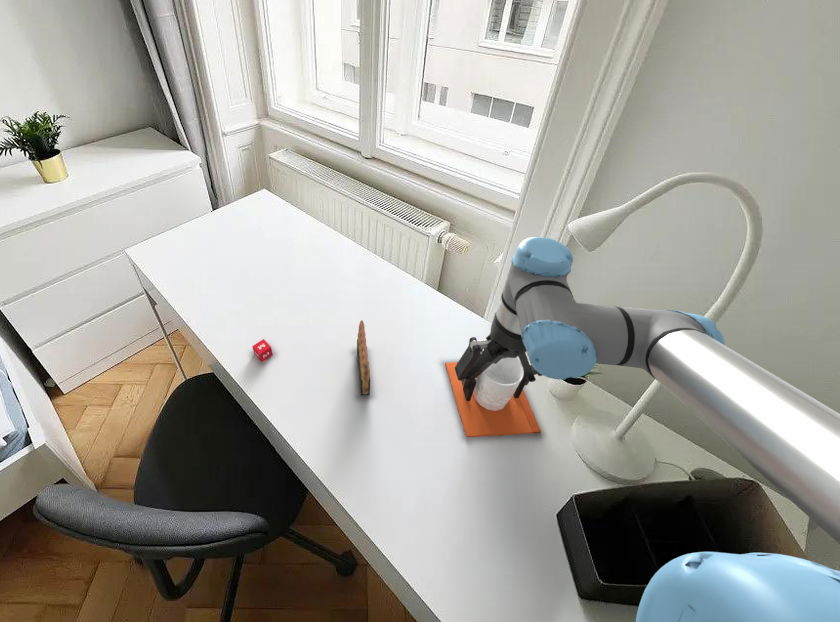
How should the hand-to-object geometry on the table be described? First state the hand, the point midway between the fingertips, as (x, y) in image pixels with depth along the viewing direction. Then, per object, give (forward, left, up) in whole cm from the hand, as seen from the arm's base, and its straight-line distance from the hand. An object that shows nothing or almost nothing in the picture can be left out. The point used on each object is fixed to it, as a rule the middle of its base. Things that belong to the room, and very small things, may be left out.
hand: (490, 393), depth 82 cm
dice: (+13, +47, -1) cm, 49 cm away
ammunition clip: (+7, +25, -1) cm, 26 cm away
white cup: (0, 0, -1) cm, 1 cm away
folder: (0, 0, -1) cm, 1 cm away
